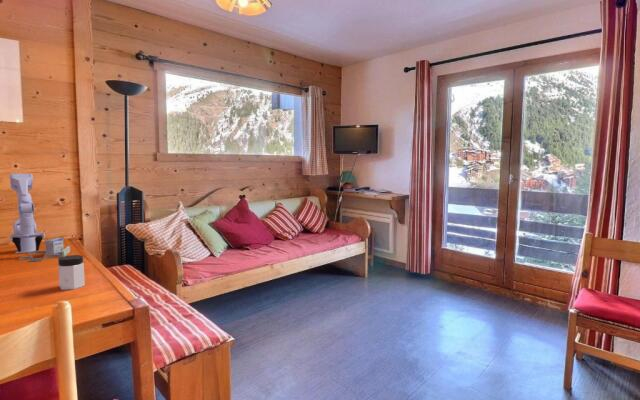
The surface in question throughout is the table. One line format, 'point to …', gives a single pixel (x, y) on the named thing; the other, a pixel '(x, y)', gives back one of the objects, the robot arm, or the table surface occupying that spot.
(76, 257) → the jar
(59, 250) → the medicine box
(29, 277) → the table surface
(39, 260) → the grey plate
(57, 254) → the channel
